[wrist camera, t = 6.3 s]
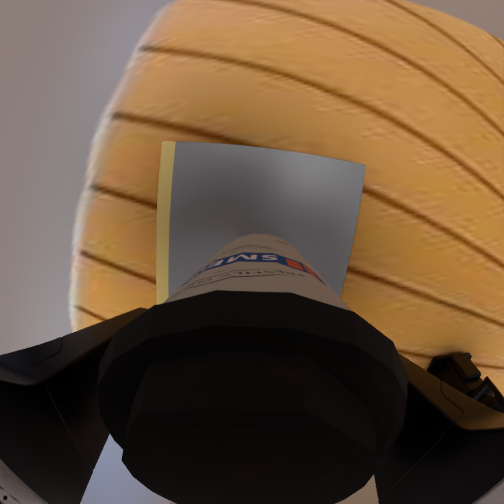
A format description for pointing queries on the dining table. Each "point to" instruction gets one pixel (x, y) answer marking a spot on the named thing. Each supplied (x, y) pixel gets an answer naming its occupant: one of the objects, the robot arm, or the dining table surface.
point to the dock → (252, 207)
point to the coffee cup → (252, 385)
